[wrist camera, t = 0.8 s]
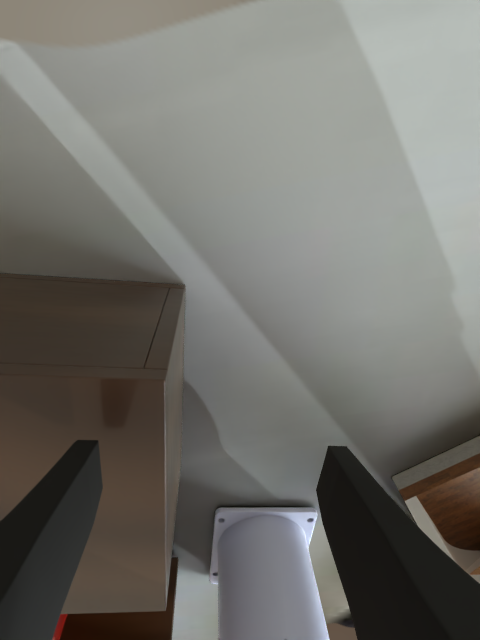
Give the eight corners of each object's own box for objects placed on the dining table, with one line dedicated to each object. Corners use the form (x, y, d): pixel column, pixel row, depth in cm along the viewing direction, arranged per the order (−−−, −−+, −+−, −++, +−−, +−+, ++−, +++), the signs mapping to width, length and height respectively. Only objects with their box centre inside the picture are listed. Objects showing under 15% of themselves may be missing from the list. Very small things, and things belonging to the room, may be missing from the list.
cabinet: (181, 464, 25) (165, 611, 17) (-73, 462, 23) (-220, 622, 15) (185, 284, 19) (165, 380, 11) (-153, 263, 17) (-457, 358, 9)
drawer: (177, 589, 31) (166, 725, 24) (-23, 593, 29) (-102, 742, 22) (181, 441, 24) (166, 574, 16) (-88, 436, 22) (-240, 582, 15)
